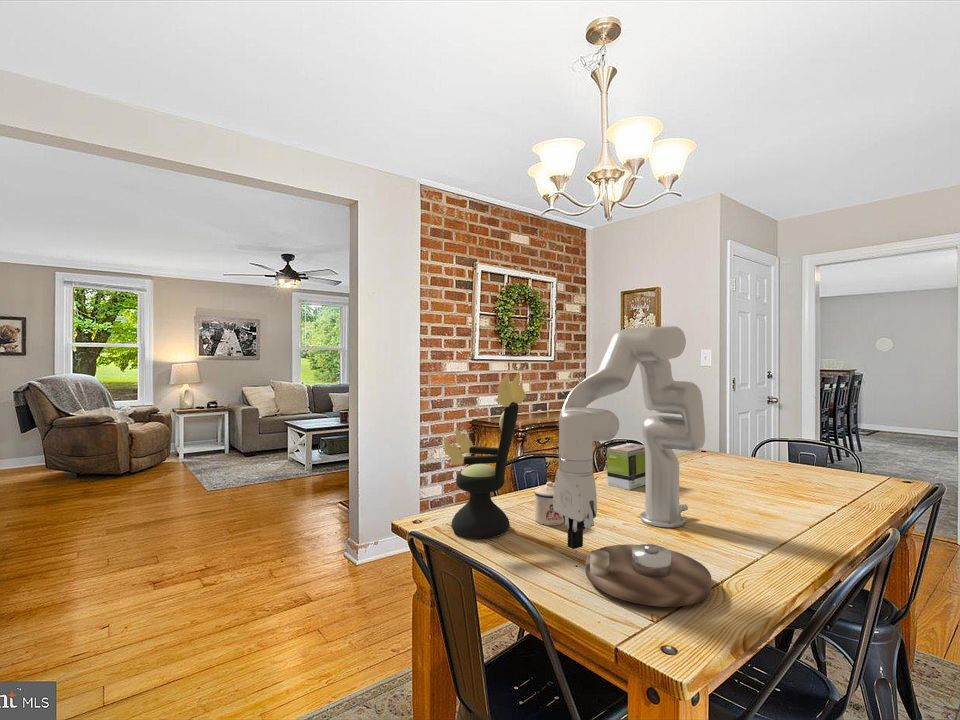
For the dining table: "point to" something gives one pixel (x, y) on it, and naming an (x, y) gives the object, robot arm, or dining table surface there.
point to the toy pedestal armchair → (485, 470)
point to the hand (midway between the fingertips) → (575, 546)
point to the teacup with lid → (546, 506)
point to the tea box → (626, 466)
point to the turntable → (647, 578)
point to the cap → (651, 560)
